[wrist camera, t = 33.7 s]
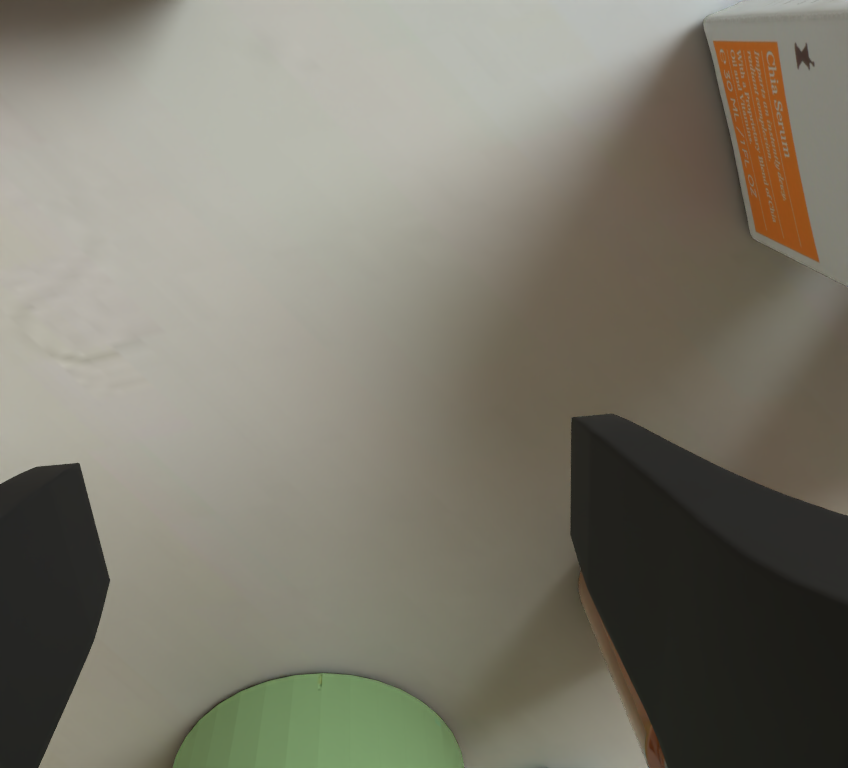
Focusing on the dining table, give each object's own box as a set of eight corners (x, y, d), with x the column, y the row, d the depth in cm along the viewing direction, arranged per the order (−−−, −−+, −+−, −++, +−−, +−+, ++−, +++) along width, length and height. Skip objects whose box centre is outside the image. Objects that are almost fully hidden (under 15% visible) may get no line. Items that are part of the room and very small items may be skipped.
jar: (624, 662, 27) (727, 896, 20) (548, 564, 25) (630, 779, 18) (756, 587, 26) (915, 800, 19) (688, 479, 24) (833, 668, 17)
